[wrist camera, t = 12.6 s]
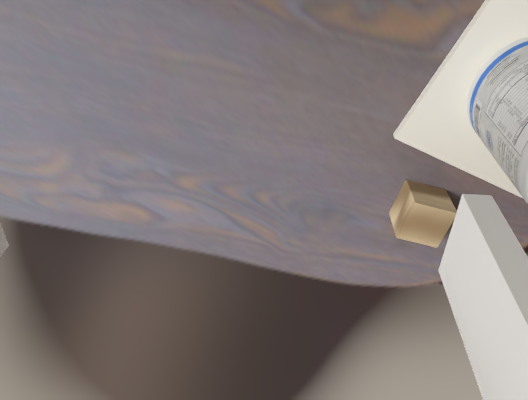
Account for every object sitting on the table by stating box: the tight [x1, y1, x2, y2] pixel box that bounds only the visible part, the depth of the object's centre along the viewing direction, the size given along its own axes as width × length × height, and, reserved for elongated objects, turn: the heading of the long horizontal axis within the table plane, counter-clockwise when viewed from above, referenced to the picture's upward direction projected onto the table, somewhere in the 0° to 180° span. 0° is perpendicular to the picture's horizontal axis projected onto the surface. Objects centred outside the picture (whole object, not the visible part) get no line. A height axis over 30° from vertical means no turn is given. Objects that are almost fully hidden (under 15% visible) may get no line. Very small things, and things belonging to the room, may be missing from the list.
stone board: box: [393, 0, 528, 198], centre depth 39 cm, size 16×14×1 cm
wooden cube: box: [389, 179, 457, 248], centre depth 45 cm, size 4×4×4 cm
